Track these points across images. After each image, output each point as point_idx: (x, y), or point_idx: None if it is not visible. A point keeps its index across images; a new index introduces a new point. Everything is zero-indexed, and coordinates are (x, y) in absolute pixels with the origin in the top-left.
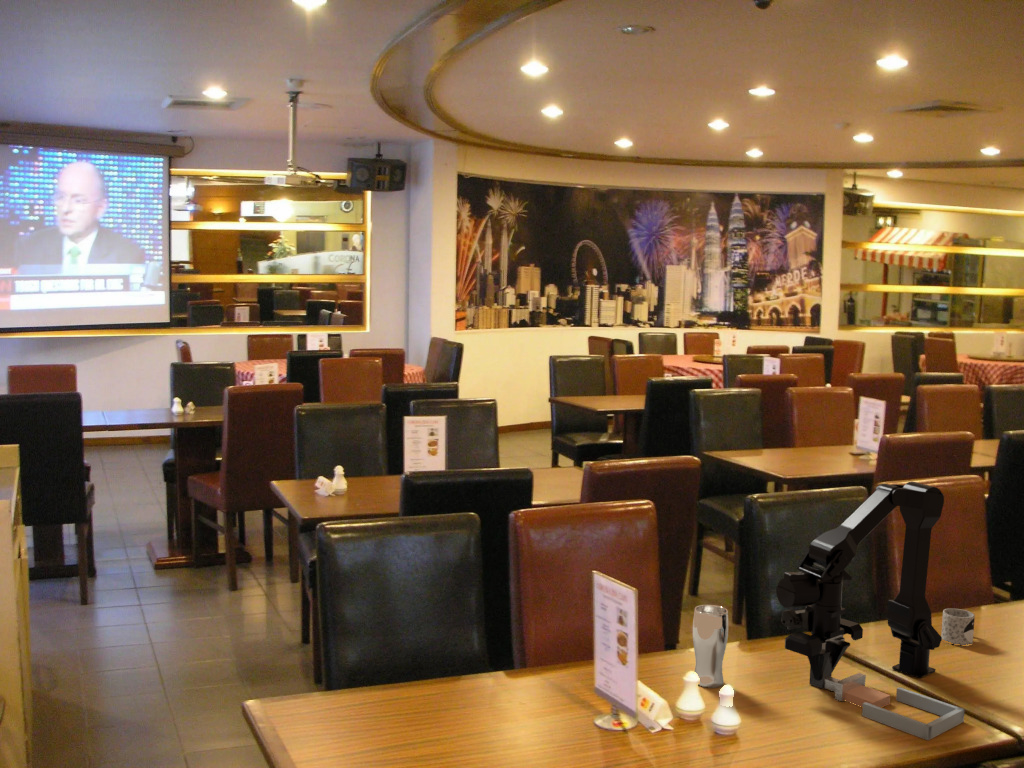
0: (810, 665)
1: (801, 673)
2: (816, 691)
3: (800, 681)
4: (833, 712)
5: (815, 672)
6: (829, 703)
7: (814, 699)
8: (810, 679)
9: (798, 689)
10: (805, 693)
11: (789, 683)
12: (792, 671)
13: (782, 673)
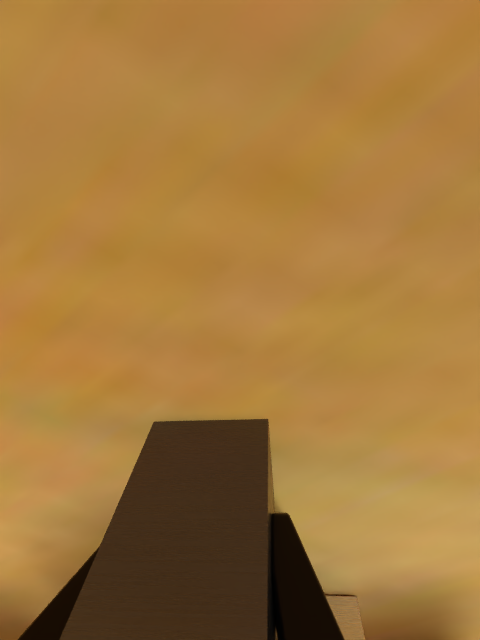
0: (86, 579)
1: (298, 234)
2: (115, 495)
3: (140, 348)
4: (16, 633)
5: None
6: None
7: (23, 540)
8: (141, 458)
9: (22, 425)
10: (26, 479)
11: (26, 328)
12: (264, 140)
13: (121, 120)
